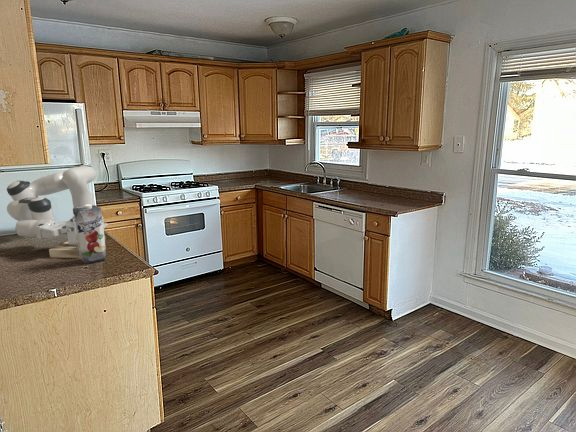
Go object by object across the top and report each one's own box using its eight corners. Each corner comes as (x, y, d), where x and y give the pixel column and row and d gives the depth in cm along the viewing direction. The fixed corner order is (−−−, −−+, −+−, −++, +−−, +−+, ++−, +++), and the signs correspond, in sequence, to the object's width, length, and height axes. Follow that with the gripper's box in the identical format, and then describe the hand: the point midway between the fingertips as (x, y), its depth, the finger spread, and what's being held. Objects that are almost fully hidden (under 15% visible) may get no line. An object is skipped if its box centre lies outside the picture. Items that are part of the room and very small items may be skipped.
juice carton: (79, 260, 189) (71, 204, 183) (102, 256, 195) (96, 201, 190) (84, 265, 182) (76, 207, 176) (108, 260, 189) (101, 204, 183)
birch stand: (71, 246, 212) (69, 232, 210) (101, 246, 211) (99, 232, 209) (50, 257, 194) (47, 241, 192) (82, 257, 193) (79, 241, 191)
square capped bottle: (73, 242, 204) (70, 217, 201) (82, 242, 203) (79, 217, 201) (68, 245, 199) (65, 219, 197) (77, 245, 199) (74, 219, 196)
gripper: (62, 229, 211) (87, 229, 210) (36, 240, 191) (63, 240, 190) (60, 217, 210) (86, 217, 209) (34, 227, 190) (62, 227, 189)
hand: (75, 228), depth 200 cm, fingers open, 6 cm apart
